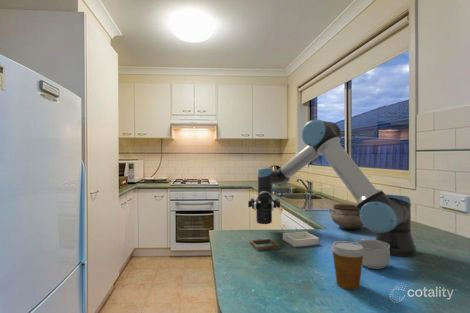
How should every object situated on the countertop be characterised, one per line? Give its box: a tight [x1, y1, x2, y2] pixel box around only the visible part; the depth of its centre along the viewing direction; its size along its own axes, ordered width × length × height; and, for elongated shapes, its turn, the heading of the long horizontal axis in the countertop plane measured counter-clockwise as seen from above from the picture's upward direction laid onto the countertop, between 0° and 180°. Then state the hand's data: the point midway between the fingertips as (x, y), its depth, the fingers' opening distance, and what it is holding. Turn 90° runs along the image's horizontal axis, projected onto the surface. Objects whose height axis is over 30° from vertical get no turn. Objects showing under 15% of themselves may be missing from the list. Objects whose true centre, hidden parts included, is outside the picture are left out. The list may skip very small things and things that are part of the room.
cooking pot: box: [327, 202, 365, 231], centre depth 152 cm, size 25×19×12 cm
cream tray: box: [282, 230, 320, 248], centre depth 128 cm, size 12×12×3 cm
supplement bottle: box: [255, 195, 273, 225], centre depth 123 cm, size 7×7×12 cm
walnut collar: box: [249, 238, 281, 252], centre depth 122 cm, size 10×10×2 cm
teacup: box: [355, 238, 391, 270], centre depth 101 cm, size 14×11×8 cm
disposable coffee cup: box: [330, 240, 365, 291], centre depth 85 cm, size 10×10×12 cm
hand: (263, 207), depth 118 cm, fingers closed on supplement bottle, 7 cm apart
